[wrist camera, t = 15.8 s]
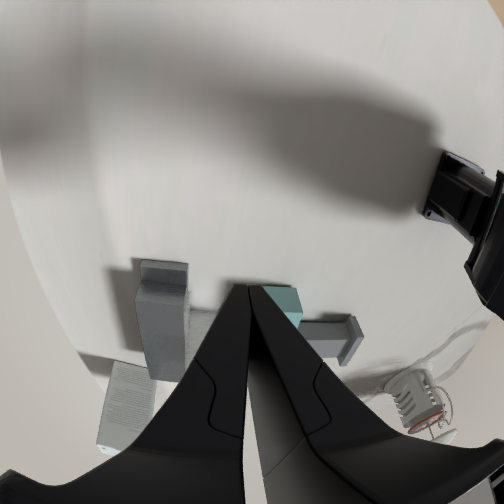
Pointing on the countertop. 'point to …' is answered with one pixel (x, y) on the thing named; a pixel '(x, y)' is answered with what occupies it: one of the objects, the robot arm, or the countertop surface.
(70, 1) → the countertop surface
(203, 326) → the block
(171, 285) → the gray curved slab
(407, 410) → the french press
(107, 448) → the skincare box
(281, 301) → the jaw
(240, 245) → the countertop surface
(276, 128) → the countertop surface
